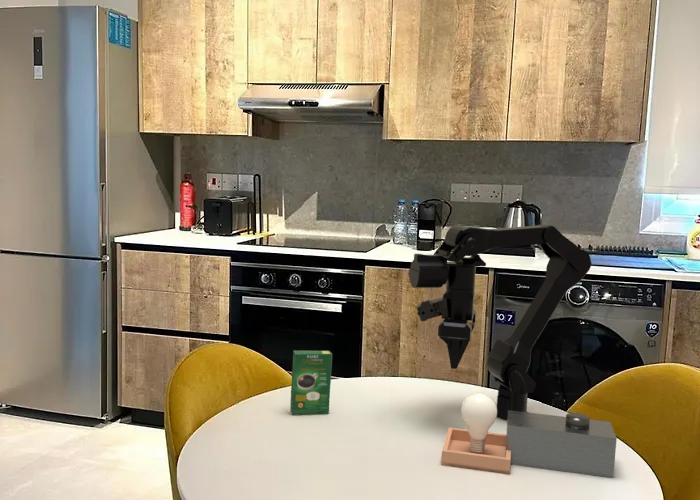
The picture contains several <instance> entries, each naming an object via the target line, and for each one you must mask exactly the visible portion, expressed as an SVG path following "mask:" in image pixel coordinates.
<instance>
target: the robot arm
mask: <svg viewBox="0 0 700 500" xmlns="http://www.w3.org/2000/svg"><path fill="white" fill-rule="evenodd" d="M446 231H447V232H446V233H445V237H444V240H443V241H442V242H441V244H440V245H439V247H438V248H437V249H436V250H435V252H434V253H433V254H424V253H414V254H413V260H411V264H410V267H409V269H408V277H409V279H408V280H409V284H410V286H411V287H412V288H413V289H419V288H420V289H425V288H426V289H429V288H430V289H431V288H432V289H439V288H442V287H443V286H444V285H446V287H445V291H444V293H443V295H442V297H438V298H433V299H431V300H430V299H427V300H425V301H424V300H422V301H421V302H420V303H419V304H417V306H416V310H417V312H416V313H417V316H418V317H419V319H420V322H427V321H428V320H429V319H434V318H437V317H440V316H441V319H443V320H442V321H441V322H439V325H438V326H437V329H438V330H437V336H438V337H439V339H440V340H442V341H443V342H444V343H445V344H446V347H447V352H448V357H449V365H450V367H451V369H454V370H456V369H458V366H459V364H460V362H461V360H462V358H463V357H464V356H463V355H464V354H465V351H466V349H467V347H468V345H469V342H470V341H471V338H472V332H473V330H474V328H475V325H476V321H477V311H476V310H475V309H474V302H475V297H476V295H475V293H476V292H475V287H476V286H475V285H476V269H477V267H486V266H487V263H486V262H485V261H484V260H483V259H482V258H481V256H480V254H484V253H485V252H488V251H490V250H492V249H497V248H498V249H499V248H509V247H523V246H537V245H538V246H539V247H540V249H541V250H542V253H544V254H545V256H546V257H547V258H548V262H547V264H546V268H545V269H546V270H545V280H544V282H542V285H541V287H540V288H539V290H538V292H537V293H536V295H535V297H534V298H533V299H532V301H531V302H530V305H529V306H528V308H527V309H526V311H525V313H524V315H523V316H522V318H521V320H520V321H519V323H517V326H516V327H515V329H514V330H513V333H512V334H511V336H510V337H508V338H507V339H505V340H504V341H503V340H501V339H499V338H498V339H497V340H496V341H495V342H494V345H493V347H492V349H491V350H490V351H489V352H488V353H487V356H488V358H487V361H486V365H487V369H488V371H489V373H490V374H491V375H492V377H493V380H494V382H495V383H498V384H499V386H498V388H497V395H496V396H497V397H496V407H497V417H500V418H502V419H504V420H507V419H508V410H511V411H520V412H528V413H530V412H529V411H527V408H528V395H529V394H533V393H534V392H535V389H536V386H537V382H536V381H535V380H534V379H533V378H532V377H531V375H529V374H528V373H527V372H528V370H529V368H530V366H531V365H530V364H531V357H532V349H533V347H534V345H535V344H536V342H537V340H538V339H539V337H540V335H541V334H542V332H543V330H544V329H545V327H546V326H547V324H548V322H549V321H550V319H551V317H552V315H553V314H554V312H555V311H556V309H557V307H558V306H559V304H560V303H561V300H562V299H563V297H564V296H565V294H566V293H567V291H569V290H571V288H573V287H574V286H576V285H577V284H579V283H580V282H581V281H582V280H583V278H584V277H585V276H586V275H587V273H589V271H590V269H591V267H592V264H593V263H592V260H591V259H592V258H591V256H590V254H589V252H587V250H585V249H582V248H579V246H578V245H577V244H576V243H574V242H573V241H572V240H570V239H569V238H567V237H566V236H565V235H563V233H561V232H560V231H559V230H558V228H556V227H555V226H554V225H548V224H544V223H543V224H542V223H541V224H538V225H527V226H513V227H512V226H511V227H510V226H509V227H500V228H499V227H498V228H497V227H496V228H482V227H476V226H475V227H474V226H468V225H460V224H457V225H456V224H455V225H451V227H449V229H448V230H446ZM469 321H470V322H469Z"/></svg>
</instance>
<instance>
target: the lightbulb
mask: <svg viewBox="0 0 700 500" xmlns="http://www.w3.org/2000/svg"><path fill="white" fill-rule="evenodd" d="M460 409H461V410H460V414H461V417H462V419H463V421H464V423H465V425H466V426H467V430H468V431H469V435H470V450H471V451H472V452H474V453H476V454H479V453H482V452H484V451H485V449H484V448H485V438H486V436H487V433H488V432H489V430H490V428H491V427H492V426H493V424H494V423H495V421H496V419H497V418H498V416H497V403H496V402H495V401H494V399H493V398H492V397H491V396H489V395H488V394H486V393H484V392H475V393H471V394H469V395H468V396H466V397H465V399H464V400H463V402H462V404H461V408H460Z"/></svg>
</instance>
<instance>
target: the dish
mask: <svg viewBox="0 0 700 500" xmlns="http://www.w3.org/2000/svg"><path fill="white" fill-rule="evenodd" d="M506 434H507V433H506ZM506 434H504V433H495V432H490V431H488V433H487V436H486V438H485V448H484V449H485V451H484V452H482V453H479V454H476V453H474V452H472V451H471V450H470V435H469V431H468V429H463V428H458V427H450V426H449V427H448V429H447V432H446V435H445V440H444V444H443V446H442V449H441V463H440V464H441V466H447V467H456V468H464V469H470V470H476V471H477V470H478V471H484V472H491V473H497V474H500V473H501V474H505V475H506V474H507V475H510V473H511V464H510V461H511V450H506ZM505 451H506V457H505Z"/></svg>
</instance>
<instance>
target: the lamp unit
mask: <svg viewBox="0 0 700 500" xmlns="http://www.w3.org/2000/svg"><path fill="white" fill-rule="evenodd" d="M528 412H529V411H527V412H520V411H511V410H508V419H506V450H511V461H510V465H514V466H522V467H528V468H529V467H531V468H537V469H545V470H550V471H551V470H552V471H559V472H566V473H567V472H568V473H574V474H581V475H589V476H595V477H605V478H610V479H614V475H615V474H614V473H615V472H614V471H615V461H616V451H617V441H618V440H617V439H618V438H617V435H616V433H615V430H614V428H613V426H612V422H610V421H606V420H605V421H603V420H597V419H596V420H594V419H591V418H590V416H588V415H586V414H583V413H580V412H568V413H566V414H565V416H562V415H552V414H551V415H550V414H546V413H545V414H543V413H535V412H529V413H528ZM505 457H506V451H505Z"/></svg>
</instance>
